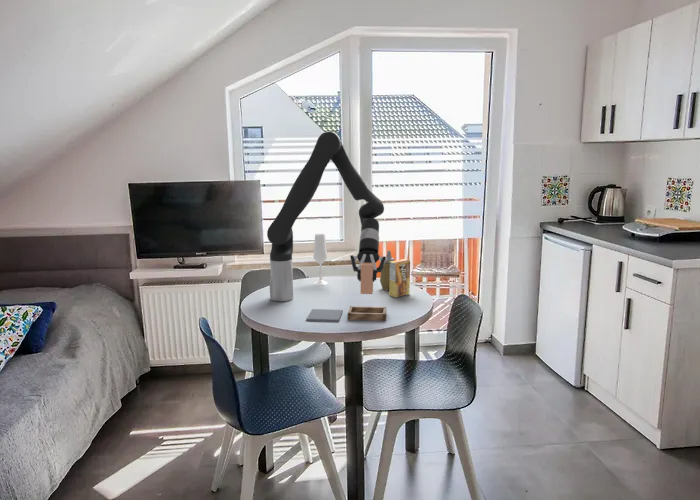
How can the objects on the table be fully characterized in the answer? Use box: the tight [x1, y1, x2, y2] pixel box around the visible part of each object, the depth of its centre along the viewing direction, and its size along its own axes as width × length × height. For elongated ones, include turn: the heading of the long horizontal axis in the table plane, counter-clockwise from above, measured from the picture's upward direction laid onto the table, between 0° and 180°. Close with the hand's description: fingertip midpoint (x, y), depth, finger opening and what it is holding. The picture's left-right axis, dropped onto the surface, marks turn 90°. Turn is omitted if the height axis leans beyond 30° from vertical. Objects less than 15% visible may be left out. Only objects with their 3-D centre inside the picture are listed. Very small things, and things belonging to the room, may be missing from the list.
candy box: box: [388, 258, 411, 298], centre depth 205 cm, size 9×4×15 cm, turn 129°
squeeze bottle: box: [379, 249, 395, 291], centre depth 215 cm, size 8×8×18 cm
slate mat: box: [305, 308, 343, 323], centre depth 177 cm, size 12×12×1 cm
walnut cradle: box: [347, 305, 387, 322], centre depth 177 cm, size 14×9×2 cm, turn 84°
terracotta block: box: [359, 262, 374, 295], centre depth 174 cm, size 4×4×11 cm
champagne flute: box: [313, 233, 328, 286], centre depth 225 cm, size 7×7×24 cm
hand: (366, 280), depth 173 cm, fingers closed on terracotta block, 4 cm apart
